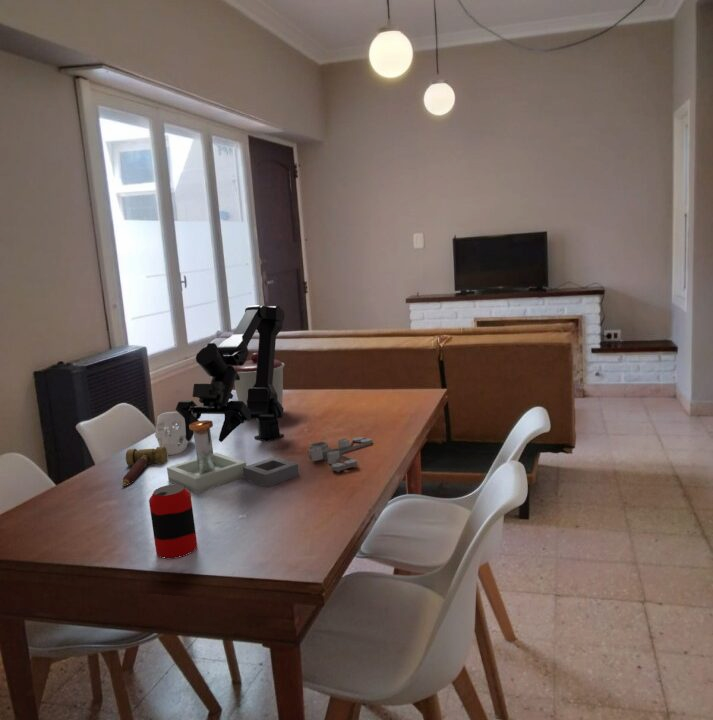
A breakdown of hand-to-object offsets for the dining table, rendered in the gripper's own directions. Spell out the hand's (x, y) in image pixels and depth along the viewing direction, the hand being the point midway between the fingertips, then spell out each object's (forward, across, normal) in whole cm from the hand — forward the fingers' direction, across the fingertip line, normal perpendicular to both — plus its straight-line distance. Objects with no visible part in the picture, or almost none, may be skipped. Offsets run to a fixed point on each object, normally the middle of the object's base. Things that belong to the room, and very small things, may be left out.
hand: (203, 440), depth 167 cm
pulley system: (-7, +26, +22) cm, 35 cm away
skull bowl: (-9, -25, +23) cm, 35 cm away
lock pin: (+6, 0, +6) cm, 9 cm away
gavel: (+6, -22, +8) cm, 24 cm away
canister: (-34, -15, +49) cm, 62 cm away
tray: (+7, 0, +7) cm, 10 cm away
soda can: (+33, +16, -19) cm, 41 cm away
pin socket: (+5, +16, +9) cm, 19 cm away
